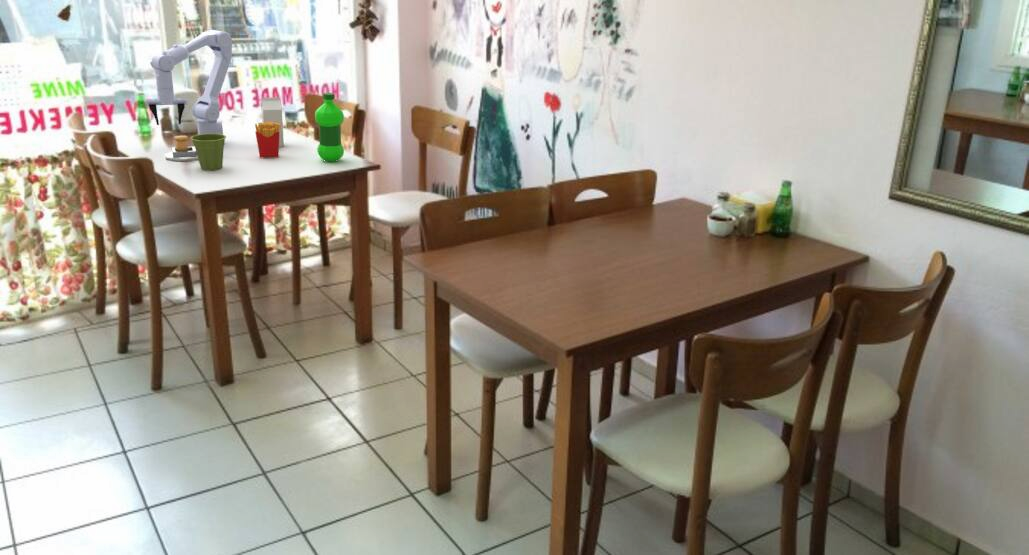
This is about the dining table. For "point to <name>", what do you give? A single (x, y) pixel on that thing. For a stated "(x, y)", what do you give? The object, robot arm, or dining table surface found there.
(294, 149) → the dining table surface
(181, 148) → the pin
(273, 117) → the milk carton
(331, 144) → the plastic bottle
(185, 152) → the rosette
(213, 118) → the robot arm
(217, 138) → the plant pot
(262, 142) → the french fries
